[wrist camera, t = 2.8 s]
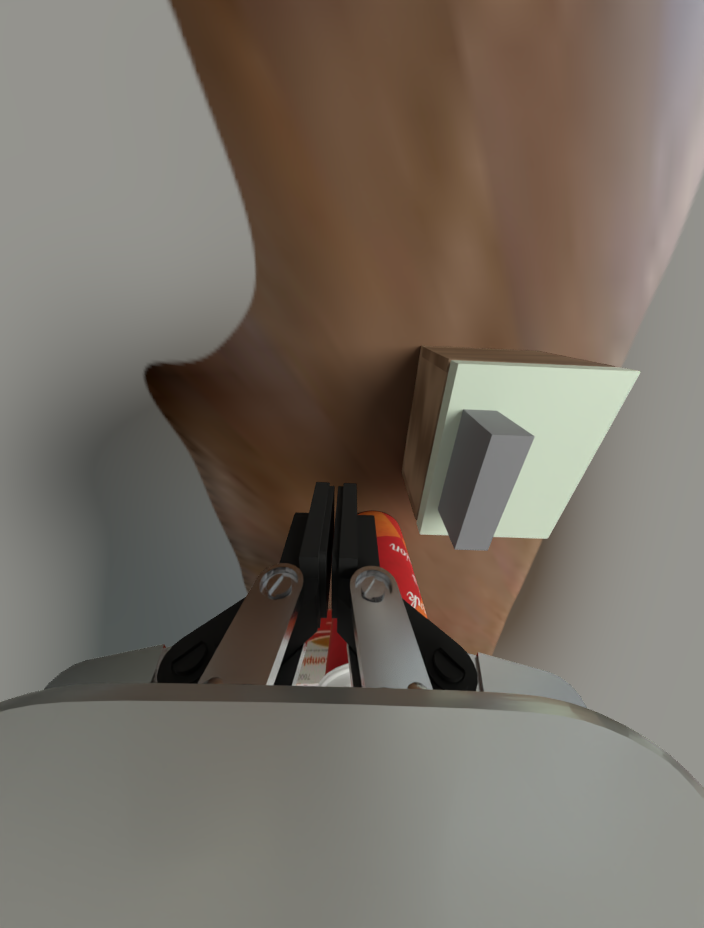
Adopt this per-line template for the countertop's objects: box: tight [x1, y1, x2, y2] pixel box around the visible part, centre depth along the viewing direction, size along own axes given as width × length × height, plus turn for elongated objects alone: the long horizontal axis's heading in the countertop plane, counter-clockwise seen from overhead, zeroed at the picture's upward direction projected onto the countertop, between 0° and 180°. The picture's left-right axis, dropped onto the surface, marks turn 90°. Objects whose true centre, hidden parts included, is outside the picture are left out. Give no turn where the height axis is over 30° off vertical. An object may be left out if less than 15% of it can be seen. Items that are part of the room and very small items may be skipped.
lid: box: [417, 360, 640, 550], centre depth 13 cm, size 10×8×4 cm
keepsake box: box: [401, 346, 615, 520], centre depth 18 cm, size 10×8×6 cm
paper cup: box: [318, 511, 428, 687], centre depth 20 cm, size 8×8×14 cm
